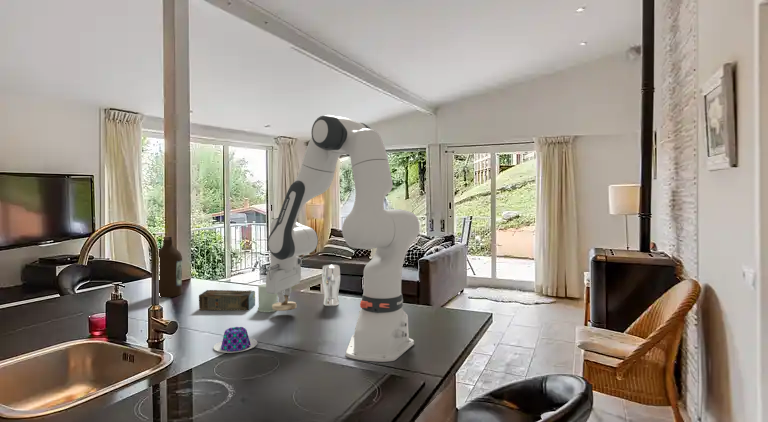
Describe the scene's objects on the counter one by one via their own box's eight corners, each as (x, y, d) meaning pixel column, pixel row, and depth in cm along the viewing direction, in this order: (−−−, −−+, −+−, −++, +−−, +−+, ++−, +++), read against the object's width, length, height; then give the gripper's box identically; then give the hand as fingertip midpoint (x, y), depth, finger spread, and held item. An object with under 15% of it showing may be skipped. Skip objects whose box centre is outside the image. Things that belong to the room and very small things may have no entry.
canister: (272, 313, 161) (272, 288, 161) (253, 311, 163) (253, 287, 162) (282, 307, 168) (282, 284, 168) (264, 306, 170) (264, 283, 170)
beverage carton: (249, 311, 164) (249, 293, 164) (197, 311, 164) (197, 293, 164) (255, 305, 172) (255, 288, 172) (206, 305, 172) (206, 288, 172)
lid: (290, 311, 153) (289, 299, 153) (268, 310, 155) (267, 298, 155) (300, 305, 161) (300, 293, 161) (279, 304, 163) (279, 292, 163)
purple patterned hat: (206, 347, 128) (206, 329, 127) (246, 337, 136) (245, 320, 136) (224, 358, 119) (223, 339, 119) (265, 347, 127) (264, 329, 127)
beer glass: (339, 306, 170) (338, 267, 169) (321, 306, 170) (320, 267, 169) (341, 301, 177) (341, 264, 176) (323, 301, 177) (323, 264, 176)
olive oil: (152, 298, 182) (150, 238, 181) (159, 292, 192) (157, 235, 191) (180, 297, 184) (178, 237, 183) (185, 291, 195) (184, 234, 193)
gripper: (277, 267, 146) (278, 308, 147) (303, 258, 166) (304, 295, 167) (260, 266, 148) (261, 308, 148) (288, 258, 168) (289, 294, 168)
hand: (284, 301), depth 158 cm, fingers closed on lid, 2 cm apart
